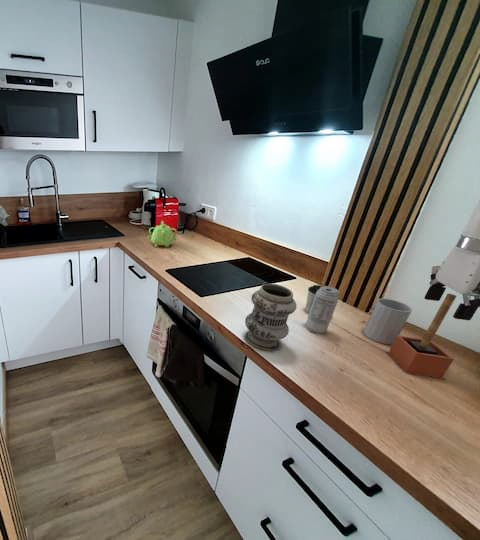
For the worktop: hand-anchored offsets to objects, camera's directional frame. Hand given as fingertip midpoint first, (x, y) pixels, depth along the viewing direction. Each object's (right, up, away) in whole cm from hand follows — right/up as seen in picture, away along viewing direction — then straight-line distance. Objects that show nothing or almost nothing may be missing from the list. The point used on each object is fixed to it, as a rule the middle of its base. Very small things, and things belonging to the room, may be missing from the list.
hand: (445, 308), depth 73 cm
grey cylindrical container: (+1, -12, +19) cm, 23 cm away
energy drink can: (-18, -10, +23) cm, 31 cm away
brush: (-1, -16, +7) cm, 18 cm away
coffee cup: (-12, -6, +33) cm, 35 cm away
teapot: (-58, +26, +102) cm, 120 cm away
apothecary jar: (-39, -12, +16) cm, 44 cm away
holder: (-1, -17, +7) cm, 19 cm away
